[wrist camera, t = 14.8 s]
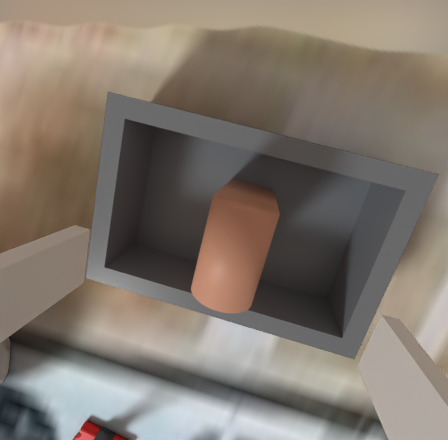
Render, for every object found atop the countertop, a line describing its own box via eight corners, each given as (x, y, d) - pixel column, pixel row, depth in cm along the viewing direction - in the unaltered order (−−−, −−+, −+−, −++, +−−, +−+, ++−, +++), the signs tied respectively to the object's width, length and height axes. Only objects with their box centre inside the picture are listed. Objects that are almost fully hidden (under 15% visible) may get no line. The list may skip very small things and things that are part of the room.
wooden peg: (273, 189, 26) (281, 222, 14) (256, 248, 27) (250, 321, 16) (231, 178, 26) (206, 202, 14) (217, 237, 28) (183, 300, 16)
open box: (391, 167, 25) (438, 174, 18) (333, 310, 29) (354, 359, 22) (147, 106, 26) (107, 91, 20) (125, 249, 30) (85, 278, 24)
